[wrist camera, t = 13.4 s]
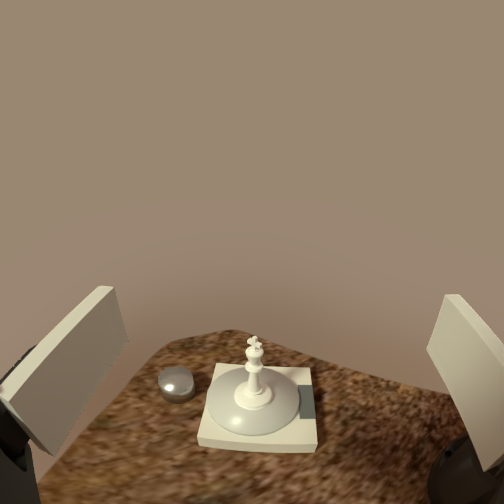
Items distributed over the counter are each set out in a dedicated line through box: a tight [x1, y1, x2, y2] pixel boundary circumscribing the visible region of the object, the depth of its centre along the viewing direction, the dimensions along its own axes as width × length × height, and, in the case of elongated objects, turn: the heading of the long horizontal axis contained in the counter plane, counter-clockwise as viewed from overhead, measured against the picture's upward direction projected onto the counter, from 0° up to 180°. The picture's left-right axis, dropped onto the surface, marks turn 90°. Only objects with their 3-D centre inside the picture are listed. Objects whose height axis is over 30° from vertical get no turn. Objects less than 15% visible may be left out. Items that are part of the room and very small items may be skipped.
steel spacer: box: [158, 367, 195, 404], centre depth 37 cm, size 5×5×3 cm
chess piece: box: [234, 336, 272, 410], centre depth 32 cm, size 5×5×10 cm
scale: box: [197, 363, 318, 453], centre depth 34 cm, size 14×14×3 cm
